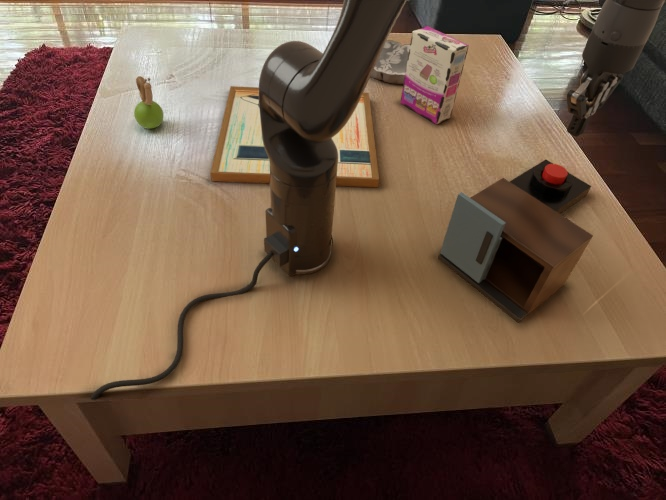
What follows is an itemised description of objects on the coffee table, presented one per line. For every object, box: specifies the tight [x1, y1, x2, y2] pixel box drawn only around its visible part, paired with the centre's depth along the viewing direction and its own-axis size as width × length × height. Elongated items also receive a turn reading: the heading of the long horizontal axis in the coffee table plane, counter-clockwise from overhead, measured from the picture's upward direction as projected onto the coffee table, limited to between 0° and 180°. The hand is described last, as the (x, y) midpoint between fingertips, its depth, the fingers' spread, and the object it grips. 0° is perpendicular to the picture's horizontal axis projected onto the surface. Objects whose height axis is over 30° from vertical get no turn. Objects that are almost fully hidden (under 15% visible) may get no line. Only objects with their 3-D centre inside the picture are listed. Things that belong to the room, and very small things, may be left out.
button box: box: [509, 159, 592, 215], centre depth 97 cm, size 12×10×4 cm
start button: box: [542, 163, 569, 185], centre depth 95 cm, size 4×4×2 cm
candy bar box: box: [399, 25, 470, 125], centre depth 110 cm, size 11×5×16 cm, turn 42°
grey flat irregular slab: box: [370, 39, 410, 85], centre depth 127 cm, size 20×17×3 cm
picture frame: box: [209, 85, 380, 188], centre depth 105 cm, size 30×2×30 cm
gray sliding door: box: [439, 191, 506, 283], centre depth 78 cm, size 1×8×12 cm, turn 40°
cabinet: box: [437, 177, 594, 323], centre depth 80 cm, size 12×16×11 cm
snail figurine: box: [133, 75, 164, 130], centre depth 101 cm, size 5×6×12 cm
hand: (574, 133), depth 89 cm, fingers closed
